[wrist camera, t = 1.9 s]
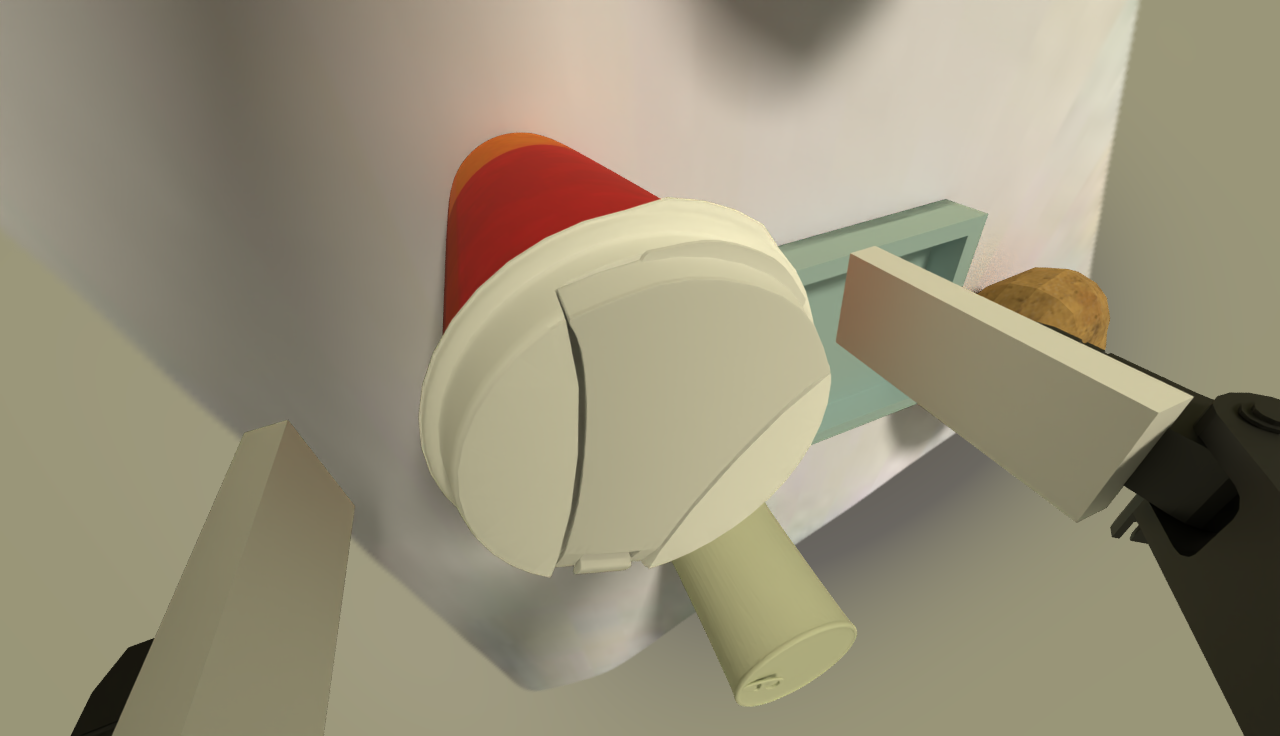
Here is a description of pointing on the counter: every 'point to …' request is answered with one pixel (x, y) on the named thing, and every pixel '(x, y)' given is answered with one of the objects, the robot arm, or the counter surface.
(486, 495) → the coffee cup
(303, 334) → the counter surface
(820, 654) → the can
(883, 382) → the tray
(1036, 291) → the potato
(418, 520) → the counter surface
